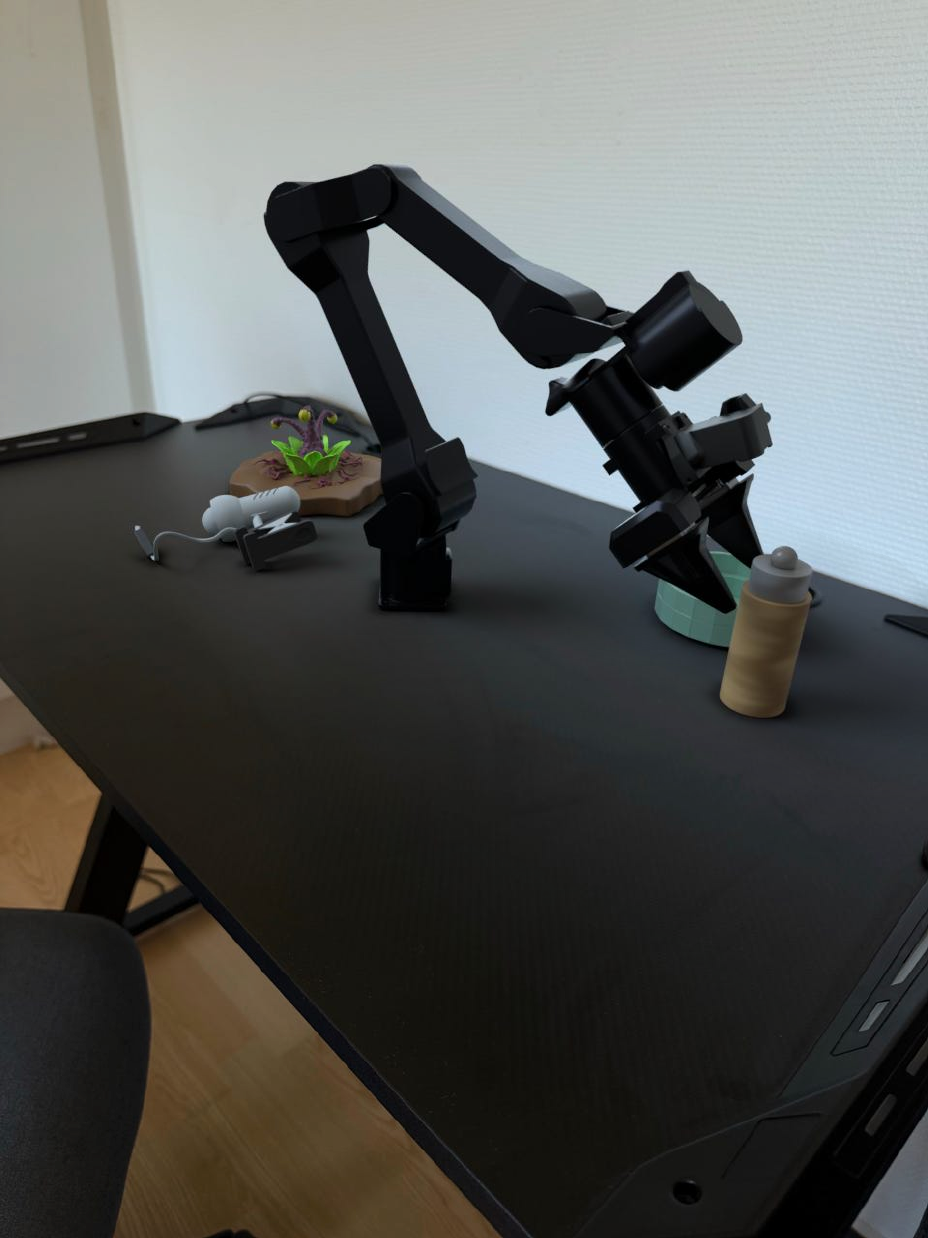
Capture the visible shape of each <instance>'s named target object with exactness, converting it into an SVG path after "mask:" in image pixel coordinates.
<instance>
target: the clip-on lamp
mask: <svg viewBox="0 0 928 1238" xmlns="http://www.w3.org/2000/svg"><path fill="white" fill-rule="evenodd" d="M209 505H210V507H208V508H207V509H206V510H205V511H204V512H203V515H202V519H201V522H202V526H203V528H204V530H205V531H206V532H207V533H208V534H210V535H212V537H208V538H197V537H193V536H188V535H185V534H183V533H179V532H175V531H163V532H160V533H158V535H156V537H155V538H154V541H153V542H152V541H151V539H150V537H149V536H148V533H147V531H146V530H145V528H143V527H141V526H140V525H135V526H134V531H133V534H134V537H135V538H136V540H137V542H138V544H139V545H140V547H141V549H142V552H143V553H144V555H145V556H146V558H147V559H148V560H150V559H151V560H153V561H154V562H158V561H159V559H160V557H159V549H158V542H159V540H160V539H161V538H162V537H165V536H171V537H174V538H177V539H182V540H184V541H187V542H191V543H197V544H211V543H214V542H217V541H219V540H220V539H221V541H222V542H224V543H231V542H236V543H237V547H238V549H239V552H240V556H241V558H242V561H243V563H244V564H245V565H246V566H248V565H251V566H252V568H253V570H254V571H256V572H257V571H260V570H263V569H265V568H266V566H267V564H266V560H269V559H272V558H275V557H277V556H280V555H282V554H285V553H288V552H290V551H293V550H296V549H299V548H301V547H304V546H307V545H309V544H312V543H314V542H315V541H316V540H317V538H318V534H317V531H316V527H315V523H314V522H313V521H312V520H311V519H303V520H302V519H301V516H300V515H299V513H298V510H299V508H300V498H299V495H298V494H297V492H296V491H295V490H294V489H292V488H291V487H289V486H283V487H280V488H276V489H272V490H268V491H265V492H261V493H257V494H253V495H250V496H246V497H242V498H237V497H235V496H231V495H230V494H221V495H218V496H214V497H213V498H211V499H210V500H209Z"/></svg>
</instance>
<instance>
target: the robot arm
mask: <svg viewBox="0 0 928 1238" xmlns="http://www.w3.org/2000/svg"><path fill="white" fill-rule="evenodd" d="M263 224H264V228H265V231H266V234H267V236H268V239H269V240H270V242H271V243H272V245H273V246H274V249H275V250H276V252H277V253H278V255H279V257H280V258H281V260H282V262H283V264H284V265H285V267H286V268H287V270H288V271H289V272H290V273H291V274H292V275H294V276H295V277H296V279H298V280H299V281H300V282H301V283H302V284H303V285H304V286H305V287H306V288H307V289H308V290H309V291H311V292H312V294H314V296H315V298H316V299H317V300H318V303H319V305H320V307H321V309H322V313H323V315H324V316H325V319H326V321H327V323H328V326H329V328H330V330H331V334H332V335H333V339H334V340H335V343H336V345H337V347H338V349H339V351H340V352H339V353H340V354H341V357H342V358H343V361H344V364H345V366H346V368H347V370H348V373H349V375H350V377H351V380H352V382H353V384H354V387H355V389H356V391H357V394H358V396H359V398H360V401H361V403H362V405H363V408H364V410H365V412H366V415H367V418H368V419H369V422H370V424H371V426H372V428H373V431H374V433H375V436H376V438H377V441H378V443H379V445H380V450H381V455H380V456H381V457H380V459H381V473H380V484H381V488H382V492H383V494H382V495H383V498H384V502H385V505H384V506H383V507H381V508H380V509H378V511H377V512H376V513H374V514H373V515H372V516H371V517H369V518H368V520H366V521H365V522H364V523H363V525H362V528H363V531H364V534H365V539H366V541H367V545H368V547H371V548H374V549H379V555H380V556H379V590H378V602H377V603H378V608H379V609H381V610H411V611H412V610H415V611H417V610H418V611H420V610H421V611H444V610H446V609H447V598H449V597H451V595H452V577H453V576H452V572H453V553H452V549H451V548H450V547H447V544H448V543H447V534H450V533H453V532H454V531H456V530H457V529H458V527H459V524H460V522H461V521H462V519H463V518H465V517H466V516H468V514H469V513H470V512H471V511H472V510H473V507H474V504H475V502H476V501H475V500H476V499H477V497H478V496H477V487H476V484H475V479H477V478H478V477H479V475H478V473H477V472H476V471H475V470H474V469H473V467H472V465H471V464H470V462H469V459H468V457H467V452H466V449H465V445H464V442H463V441H462V439H461V438H460V437H459V436H456V437H453V438H451V439H449V440H446V439H444V438H443V437H442V435H440V434H439V433H438V432H437V431H436V430H435V429H434V428H433V427H432V425H431V423H430V422H429V419H428V417H427V415H426V412H425V410H424V407H423V404H422V402H421V400H420V397H419V395H418V392H417V390H416V387H415V385H414V382H413V381H412V378H411V376H410V373H409V371H408V368H407V366H406V364H405V361H404V359H403V357H402V355H401V354H402V353H401V351H400V349H399V346H398V344H397V342H396V339H395V336H394V335H393V332H392V330H391V328H390V326H389V322H388V320H387V318H386V315H385V313H384V310H383V309H382V306H381V303H380V301H379V298H378V296H377V294H376V292H375V289H374V287H373V285H372V282H371V279H370V276H369V262H370V260H369V259H370V244H371V243H370V236H369V232H368V231H371V230H375V229H378V228H381V227H383V226H385V225H386V226H387V227H388V228H390V229H391V230H392V231H393V232H394V233H396V234H397V235H399V237H401V238H402V239H403V240H404V241H406V242H407V243H408V244H410V246H412V247H413V248H414V249H416V250H417V251H418V252H419V253H421V254H422V255H423V256H424V257H426V258H427V259H428V260H430V261H431V262H432V263H433V264H434V265H435V266H436V267H438V268H439V269H441V270H442V271H443V272H444V273H446V274H447V275H448V276H449V277H450V278H452V279H453V280H455V281H456V282H457V283H458V284H460V286H462V287H463V288H464V289H466V290H467V291H468V292H469V293H470V294H472V295H473V296H475V297H476V298H477V299H478V300H479V301H480V302H481V304H483V305H484V307H485V308H486V309H487V310H488V311H489V313H490V315H491V317H492V319H493V322H494V323H495V326H496V327H497V330H498V331H499V333H500V334H501V335H502V336H503V337H504V339H505V340H506V341H507V342H508V343H509V344H510V345H511V347H513V349H514V350H515V351H516V352H517V353H518V354H519V355H520V356H521V358H522V359H524V361H525V362H526V363H527V364H528V365H531V366H532V367H534V368H536V369H540V370H551V369H557V368H561V367H564V366H567V365H570V364H572V363H575V362H578V361H580V360H583V359H586V358H588V357H590V356H591V355H593V354H595V353H596V352H599V351H602V350H604V349H608V348H610V347H611V348H612V347H613V346H617V345H619V344H621V343H623V344H624V346H623V347H622V348H620V350H618V351H617V352H616V353H614V355H612V356H611V357H610V358H609V359H608V360H604V359H602V358H598V357H594V358H591V359H589V360H588V361H587V362H586V363H585V364H584V365H582V366H581V367H580V368H579V369H578V370H577V371H575V372H574V373H573V374H572V375H571V376H570V377H565V376H559V377H557V378H554V379H551V380H550V381H548V397H547V400H546V405H545V409H544V413H545V415H546V416H547V417H552V416H555V415H557V414H559V413H562V412H564V411H566V410H567V409H569V408H571V407H572V408H573V409H574V411H575V412H576V413H577V416H579V417H580V419H581V421H582V422H583V424H584V425H585V426H586V428H587V429H588V430H589V432H590V433H591V435H592V436H593V437H594V439H595V440H596V442H597V443H598V444H599V446H600V447H601V449H602V450H603V452H604V453H605V455H606V456H607V458H608V460H607V461H606V462H604V463H603V464H602V466H601V467H603V469H604V470H605V472H606V473H607V474H608V476H611V475H613V474H614V473H616V472H618V473H619V474H620V476H621V477H622V479H623V481H625V482H626V484H627V485H628V487H629V488H630V490H631V491H632V492H633V494H634V495H635V497H636V498H637V500H638V501H639V502H638V503H637V504H635V505H634V506H632V510H633V512H634V514H632V515H631V516H630V517H628V518H627V519H626V520H625V521H623V522H621V524H619V525H617V526H616V527H615V528H614V529H613V530H612V531H610V536H609V543H608V549H609V551H610V552H611V554H612V555H613V556H614V558H615V559H616V561H617V563H618V564H619V566H620V567H621V568H622V570H623V569H626V568H628V567H630V566H631V565H633V564H634V563H636V562H637V563H636V564H635V565H634V566H633V569H634V570H635V571H636V572H637V573H640V572H642V571H643V572H645V573H647V574H649V575H651V576H653V577H655V578H657V579H658V580H659V579H661V580H663V581H665V582H667V583H670V584H672V585H674V586H675V587H677V588H679V589H681V590H683V591H685V592H686V593H688V594H690V595H692V596H694V597H695V598H697V599H699V600H701V601H702V602H704V603H706V604H708V605H709V606H711V607H713V608H715V609H716V610H718V611H720V612H722V613H724V614H728V613H729V612H731V611H733V610H735V609H736V607H737V604H736V601H735V599H734V597H733V595H732V593H731V591H730V589H729V587H728V585H727V583H726V581H725V580H724V578H723V576H722V574H721V572H720V570H719V568H718V567H717V565H716V563H715V561H714V559H713V557H712V556H711V554H710V552H711V551H710V550H709V548H708V546H707V537H709V538H710V539H711V540H712V541H714V542H715V543H716V544H718V545H719V546H720V547H721V548H723V549H724V550H725V551H727V553H730V554H731V555H733V556H734V557H735V558H736V559H738V560H739V561H740V562H741V563H743V564H744V565H745V566H747V567H748V568H749V569H751V567H752V562H753V559H754V558H755V557H757V556H760V555H765V553H764V551H763V548H762V544H761V542H760V539H759V536H758V533H757V530H756V527H755V525H754V522H753V518H752V515H751V512H750V508H749V505H748V498H749V494H750V490H751V486H752V483H753V481H754V478H755V474H754V472H752V473H751V474H749V475H747V476H745V477H744V478H743V479H741V480H739V479H737V478H738V477H743V476H744V475H745V474H747V473H748V472H750V470H752V469H753V468H754V467H755V466H756V464H755V462H754V461H753V460H754V459H756V458H759V457H761V456H763V455H764V454H765V450H766V449H767V448H772V447H773V445H774V444H773V440H772V436H771V432H770V428H769V423H770V422H771V420H772V415H771V413H769V412H768V411H766V410H765V408H764V405H763V402H760V403H756V402H755V401H754V399H752V398H751V397H750V396H749V394H748V393H747V392H745V393H741V394H737V395H735V396H731V397H728V398H726V399H725V400H724V401H722V403H721V407H720V411H719V415H718V416H717V415H715V416H712V417H711V416H710V418H708V419H706V420H702V421H698V422H696V423H693V422H692V421H691V419H690V417H689V416H688V415H687V414H686V412H682V411H680V410H677V411H676V412H674V413H671V412H670V411H669V410H668V408H667V407H666V405H664V403H663V401H662V400H661V399H660V397H659V396H658V395H657V392H656V391H655V390H661V389H663V388H666V389H667V390H669V391H671V392H675V393H677V392H681V391H682V390H683V389H684V388H686V387H687V386H688V385H690V384H691V383H692V382H694V381H695V380H696V379H697V378H699V377H700V376H702V374H704V373H705V372H706V371H708V370H709V369H711V368H712V367H714V365H716V364H717V363H718V362H719V361H720V360H722V359H724V358H725V357H726V356H727V355H729V354H730V353H731V352H733V351H734V350H735V349H736V348H738V347H740V345H742V344H743V341H744V340H743V337H744V336H743V333H742V329H741V326H740V325H739V323H738V321H737V319H736V317H735V315H734V314H733V312H732V311H731V309H730V308H729V306H728V305H727V303H726V302H725V301H724V300H723V299H722V300H721V299H720V300H719V298H718V297H717V296H716V295H715V294H714V293H713V292H712V291H711V290H710V289H709V288H707V287H706V285H704V284H702V283H701V282H699V281H698V280H697V279H696V278H695V277H694V275H693V274H692V272H691V270H689V269H684V270H680V271H677V272H675V273H674V274H673V275H672V276H671V277H669V278H668V279H667V280H666V281H665V282H664V283H663V285H662V286H661V288H660V289H659V290H658V291H657V293H655V294H654V295H653V296H652V297H651V298H650V299H649V300H647V301H646V302H645V303H644V304H643V305H642V306H640V307H639V308H638V309H637V310H636V311H635V312H634V311H632V310H631V311H630V310H627V309H623V308H620V307H616V306H612V305H610V304H607V303H606V302H605V300H604V299H603V297H602V296H601V295H600V293H598V292H597V291H596V290H594V289H593V288H591V287H590V286H587V285H586V284H584V283H581V282H580V281H577V280H575V279H574V278H571V277H570V276H568V275H565V274H564V273H561V272H560V271H556V270H554V269H552V268H548V267H545V266H542V265H539V264H536V263H534V262H532V261H530V260H528V259H526V258H524V257H522V256H520V255H519V254H518V253H516V252H515V251H514V250H513V249H512V248H510V247H509V246H507V245H506V244H505V243H504V242H503V241H501V240H500V239H499V238H498V237H496V236H495V235H494V234H493V233H491V232H490V231H489V230H487V229H486V228H484V227H483V226H482V225H481V224H479V223H478V222H477V221H475V220H474V219H473V218H472V217H470V216H469V215H468V214H466V212H464V211H463V210H462V209H460V208H459V207H457V206H456V205H455V204H454V203H453V202H452V201H451V200H449V199H448V198H446V197H445V196H443V195H442V194H441V193H439V191H437V190H436V189H435V188H434V187H432V186H431V185H429V184H428V183H427V182H426V181H424V180H423V179H422V176H420V175H419V173H418V172H417V171H416V170H415V169H413V168H412V167H410V166H408V165H406V164H387V163H384V164H383V163H374V164H371V165H370V166H368V167H366V168H364V169H361V170H359V171H355V172H353V173H350V174H346V175H342V176H338V177H334V178H329V179H325V180H321V181H320V180H319V181H283V182H281V183H279V184H277V185H275V187H274V188H273V190H271V192H270V194H269V197H268V199H267V202H266V208H265V211H264V212H263ZM709 551H710V552H709ZM638 561H639V562H638Z"/></svg>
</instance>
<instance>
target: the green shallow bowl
mask: <svg viewBox="0 0 928 1238" xmlns="http://www.w3.org/2000/svg"><path fill="white" fill-rule="evenodd" d="M709 552H710V554H711V556H712V557H713V559H714V561H715V563H716V565H717V567H718V568H719V570H720V572H721V574H722V576H723V578H724V580H725V581H726V583H727V585H728V587H729V589H730V591H731V593H732V595H733V597H734V599H735V601H736V604H737V607H736V609H735V610H733V611H731V612H729V613H728V614H724V613H722V612H720V611H718V610H716V609H715V608H713V607H711V606H709V605H708V604H706V603H704V602H702V601H701V600H699V599H697V598H695V597H694V596H692V595H690V594H688V593H686V592H685V591H683V590H681V589H679V588H677V587H675V586H674V585H672V584H670V583H667V582H665V581H663V580H661V579H659V578H658V582H657V589H656V590H657V591H656V597H655V601H654V611H655V613H656V615H657V617H658V619H659V620H660V621H661V622H662V623H663V624H664V625H666V626H667V627H668V628H670V630H673V631H675V632H677V633H679V634H681V635H683V636H685V637H687V638H690V639H693V640H695V641H699V642H701V643H705V644H707V645H712V646H717V647H721V648H723V647H724V648H729V647H730V642H731V637H732V632H733V627H734V623H735V618H736V613H737V608H738V603H739V598H740V593H741V589H742V585H743V583H744V582H745V581H747V580H749V576H750V572H751V569H749V568H748V567H747V566H745V565H744V564H743V563H741V562H740V561H739V560H738V559H736V558H735V557H734V556H733V555H731V554H730V553H729V552H725V551H724V552H723V551H710V550H709Z"/></svg>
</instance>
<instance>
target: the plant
mask: <svg viewBox="0 0 928 1238" xmlns="http://www.w3.org/2000/svg"><path fill="white" fill-rule="evenodd" d="M325 416H326V417H327V418H326V419H327V421H328V422H329V423H330V424H336V423H337V421H338V415H337V414H336V413H335V412H334V411H332V410H328V409H326V408H325V409H323V410H322V411H321V412H320V414H319V415H318V418H317V419H316V421H315V417H316V416H315V415H314V410H313V409H312V407H311V405H304V407H302V408H301V409H300V410H299V412H298V419H299V420H300V421H301V422H302V423H306V426H307V428H306V429H305V428H303V427H302V426H301V425H300V424H298V423H297V422H296V421H295V420H293V419H291V418H287V417H279V416H277V417H274V418H272V419H271V421H270V426H271V427H272V429H273V430H279V429H281V427H282V423H286V424H287V425H290V426H291V427H292V428H293V429H295V431H296V432H298V434H299V435H300V437H301V440H299V439H298V438H296V437H294V436H292V435H290V436H289V435H288V442H289V444H290V446H289V445H288V444H287V443H285V442H282V441H279V440H274V439H272V440H271V444H272V445H274V446H275V447H277V449H279V450H276V449H275V450H274V451H264V452H262V454H261V455H260V456H256V457H254V458H250V459H246V460H243V461H242V462H241V463H240V464H239V466H238V468H237V469H235V471H233V473H232V475H231V477H230V480H229V495H231V496H235V497H237V498H242V497H246V496H250V495H253V494H257V493H261V492H265V491H268V490H272V489H276V488H280V487H283V486H289V487H291V488H292V489H294V490H295V491H296V492H297V494H298V495H299V498H300V508H299V510H298V513H299V515H300V517H303V516H311V515H325V516H326V515H327V516H336V517H337V516H338V517H345V518H347V517H350V516H352V515H354V514H359V512H361V510H362V509H364V508H365V507H366V506H368V505H371V504H373V503H374V502H375V501H376V500H377V499H378V497H379V496H381V495H383V492H382V488H381V484H380V473H381V457H377V456H374V455H369V454H362V453H356V452H350V451H349V450H348V449H346V448H347V447H348V446H349V445H350V444H351V440H350V439H349V440H343V441H339V442H338V443H336V444H334V445H333V446H332V447H331V448H329V438H328V435H326V434H323V424H324V419H325ZM345 449H346V450H345Z"/></svg>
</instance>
